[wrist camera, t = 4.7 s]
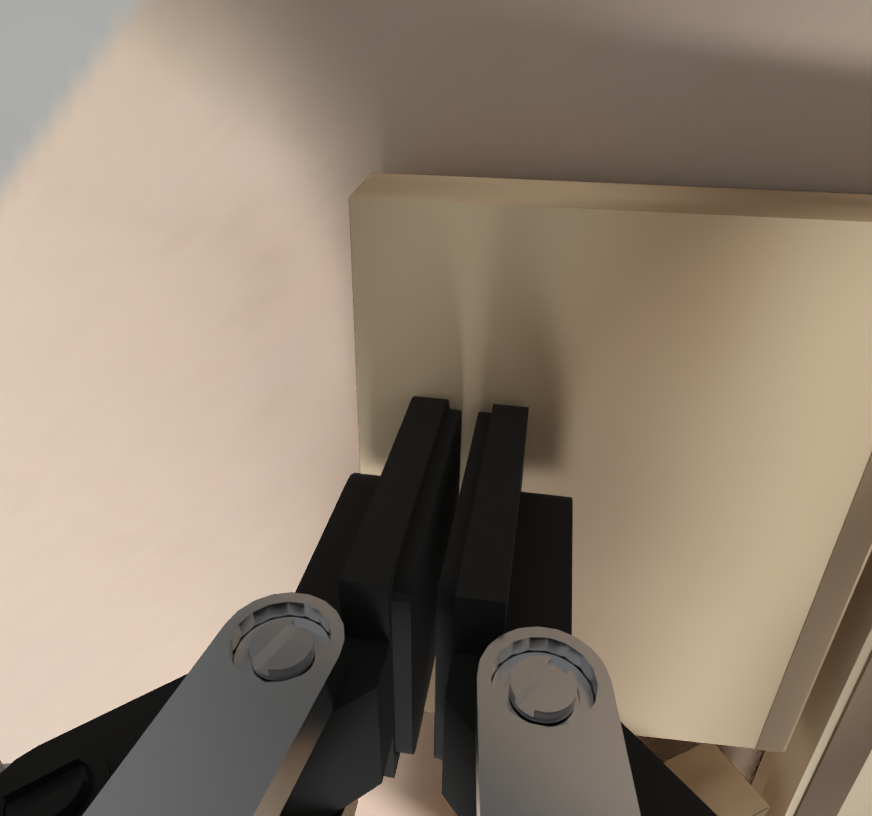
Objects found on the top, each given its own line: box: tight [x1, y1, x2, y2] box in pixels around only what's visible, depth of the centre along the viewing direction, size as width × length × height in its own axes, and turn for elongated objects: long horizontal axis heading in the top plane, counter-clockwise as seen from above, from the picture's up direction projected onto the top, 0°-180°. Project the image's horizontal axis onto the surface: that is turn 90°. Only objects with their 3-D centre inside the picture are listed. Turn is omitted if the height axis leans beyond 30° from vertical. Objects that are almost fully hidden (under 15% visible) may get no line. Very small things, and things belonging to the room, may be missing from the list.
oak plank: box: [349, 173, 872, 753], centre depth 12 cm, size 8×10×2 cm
